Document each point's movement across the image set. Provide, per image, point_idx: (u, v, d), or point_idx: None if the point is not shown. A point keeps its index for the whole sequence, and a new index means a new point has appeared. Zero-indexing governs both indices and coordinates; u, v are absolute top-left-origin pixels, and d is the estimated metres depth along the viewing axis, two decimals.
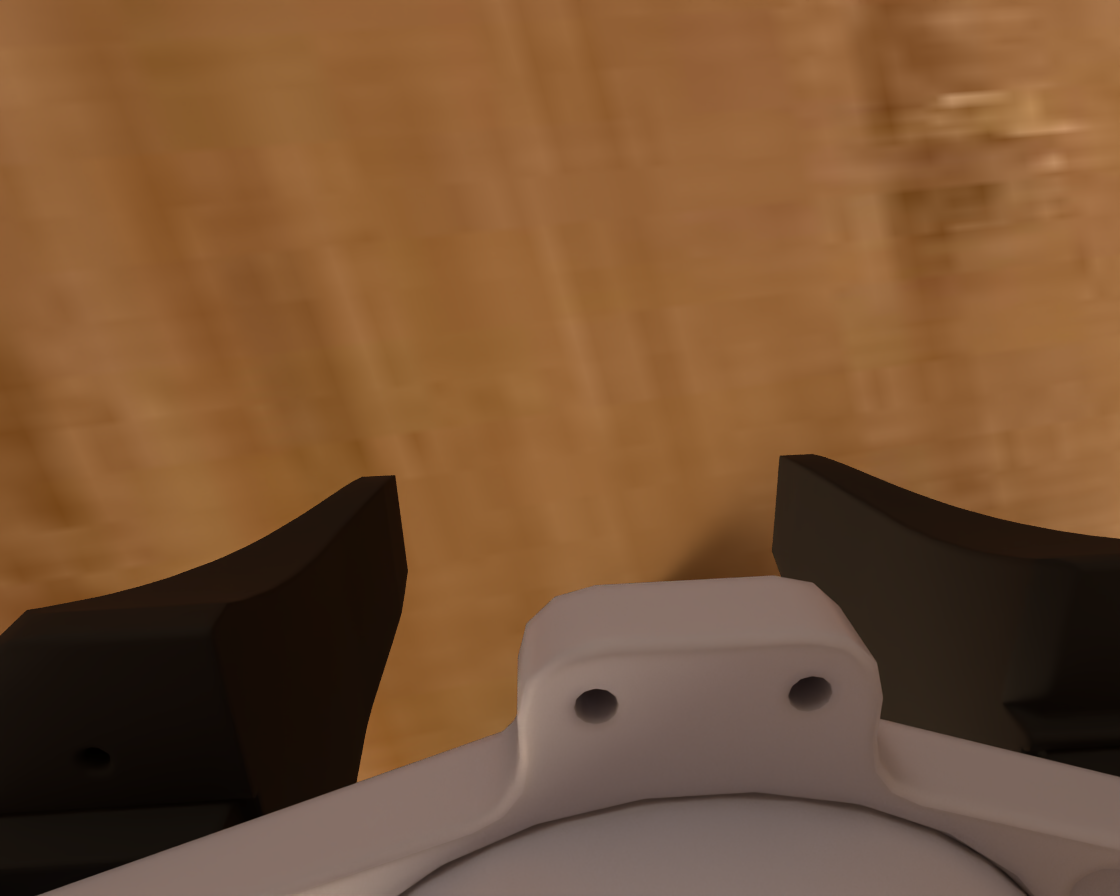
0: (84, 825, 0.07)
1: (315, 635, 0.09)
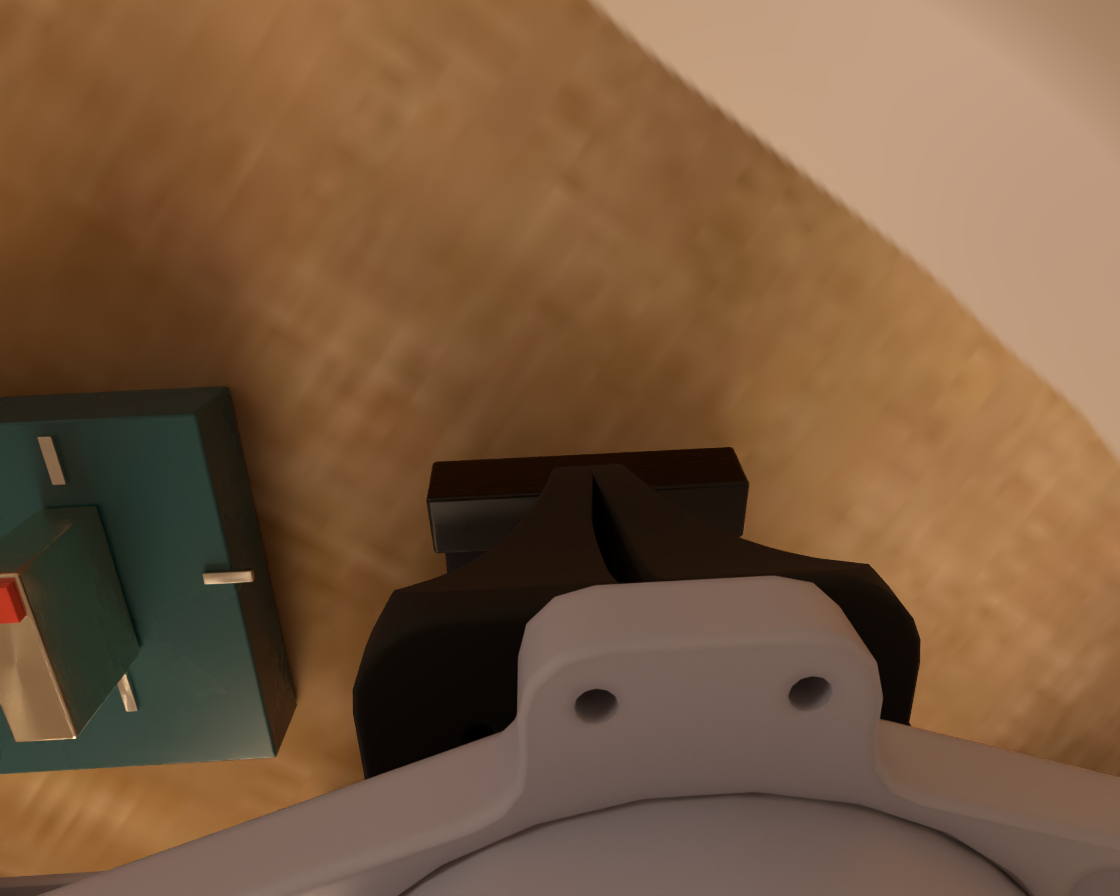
0: None
1: None
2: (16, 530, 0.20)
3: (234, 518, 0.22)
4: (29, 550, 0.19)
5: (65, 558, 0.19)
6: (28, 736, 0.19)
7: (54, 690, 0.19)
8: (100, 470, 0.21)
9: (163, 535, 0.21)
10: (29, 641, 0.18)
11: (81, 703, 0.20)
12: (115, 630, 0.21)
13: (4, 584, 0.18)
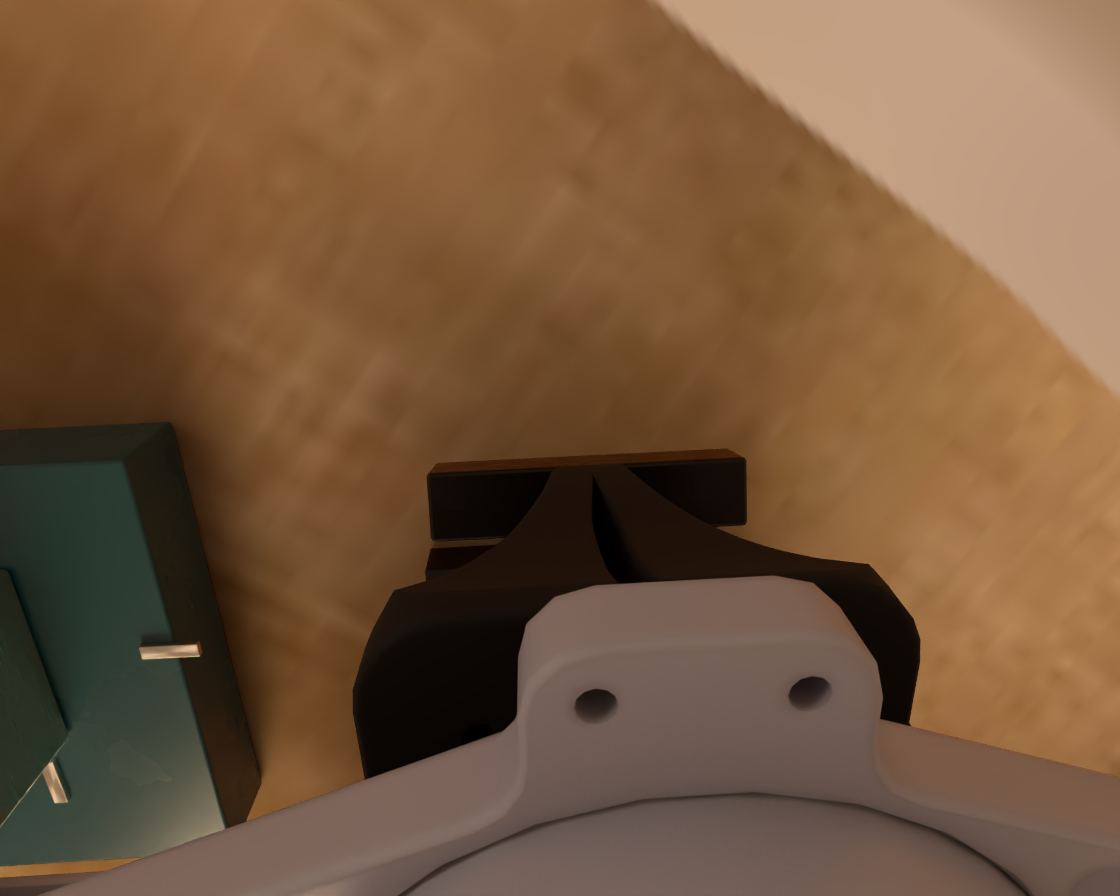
0: None
1: None
2: None
3: (178, 579, 0.19)
4: None
5: None
6: None
7: None
8: (11, 528, 0.17)
9: (90, 602, 0.18)
10: None
11: None
12: (33, 716, 0.18)
13: None
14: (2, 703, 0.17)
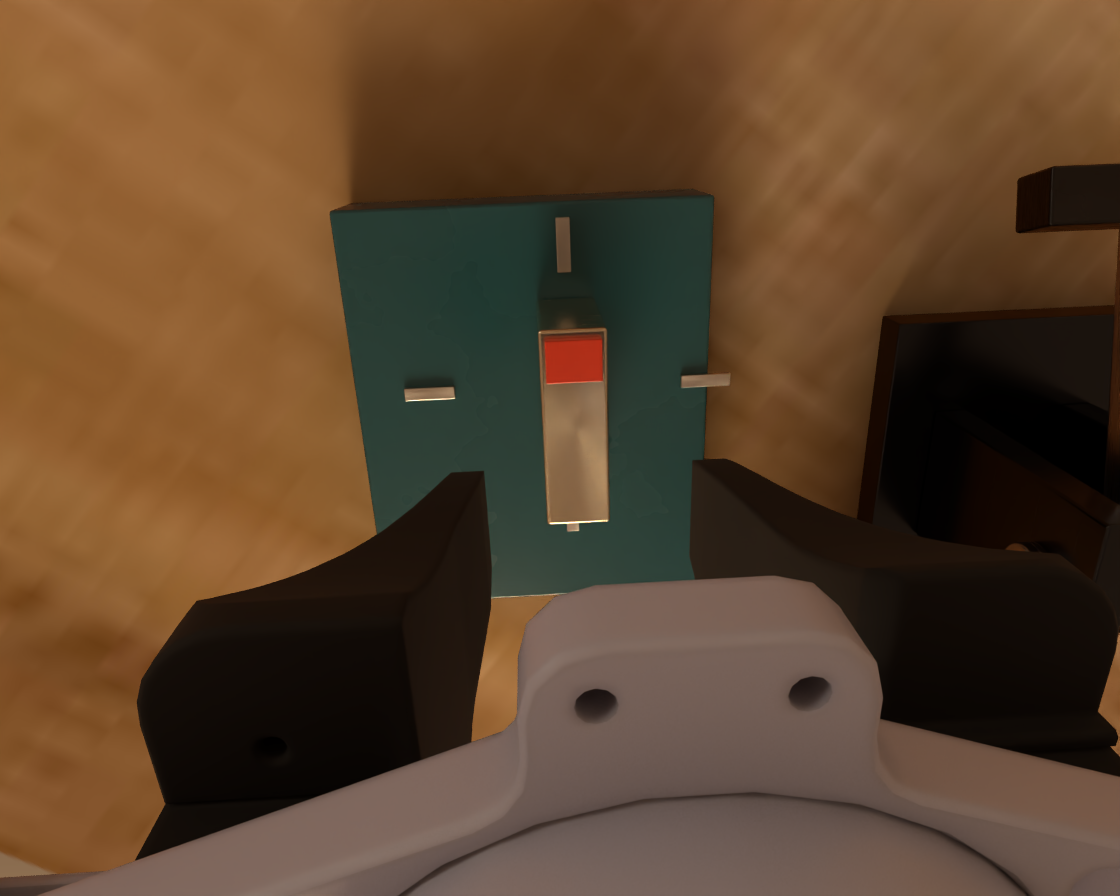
0: (260, 813, 0.07)
1: (447, 628, 0.09)
2: (543, 309, 0.19)
3: None
4: (587, 317, 0.18)
5: None
6: (564, 517, 0.19)
7: (605, 464, 0.18)
8: (605, 258, 0.20)
9: (649, 333, 0.21)
10: (596, 407, 0.18)
11: None
12: None
13: (592, 339, 0.17)
14: None
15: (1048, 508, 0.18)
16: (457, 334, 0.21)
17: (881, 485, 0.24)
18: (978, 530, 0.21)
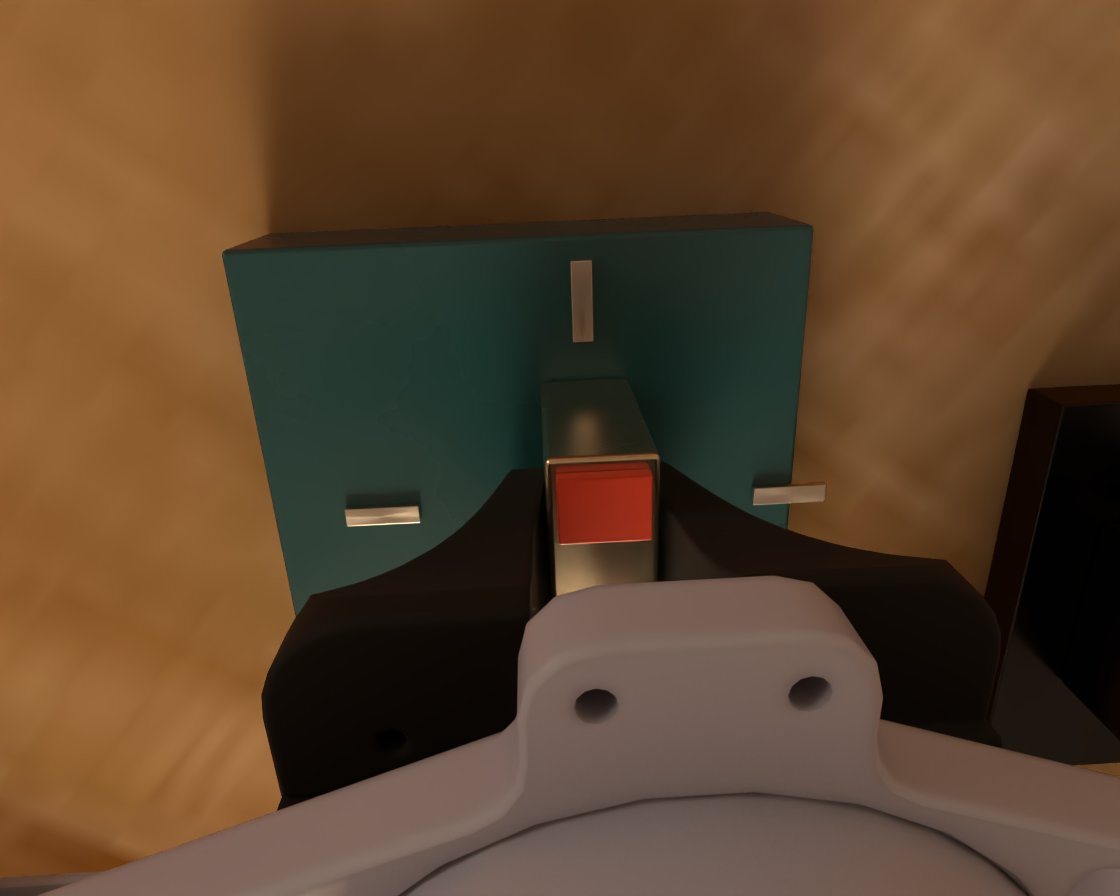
0: None
1: None
2: (553, 404, 0.12)
3: None
4: (623, 426, 0.11)
5: None
6: None
7: None
8: (645, 320, 0.13)
9: (708, 428, 0.14)
10: (640, 574, 0.11)
11: None
12: None
13: (635, 472, 0.10)
14: None
15: None
16: (422, 432, 0.14)
17: (1018, 619, 0.18)
18: None
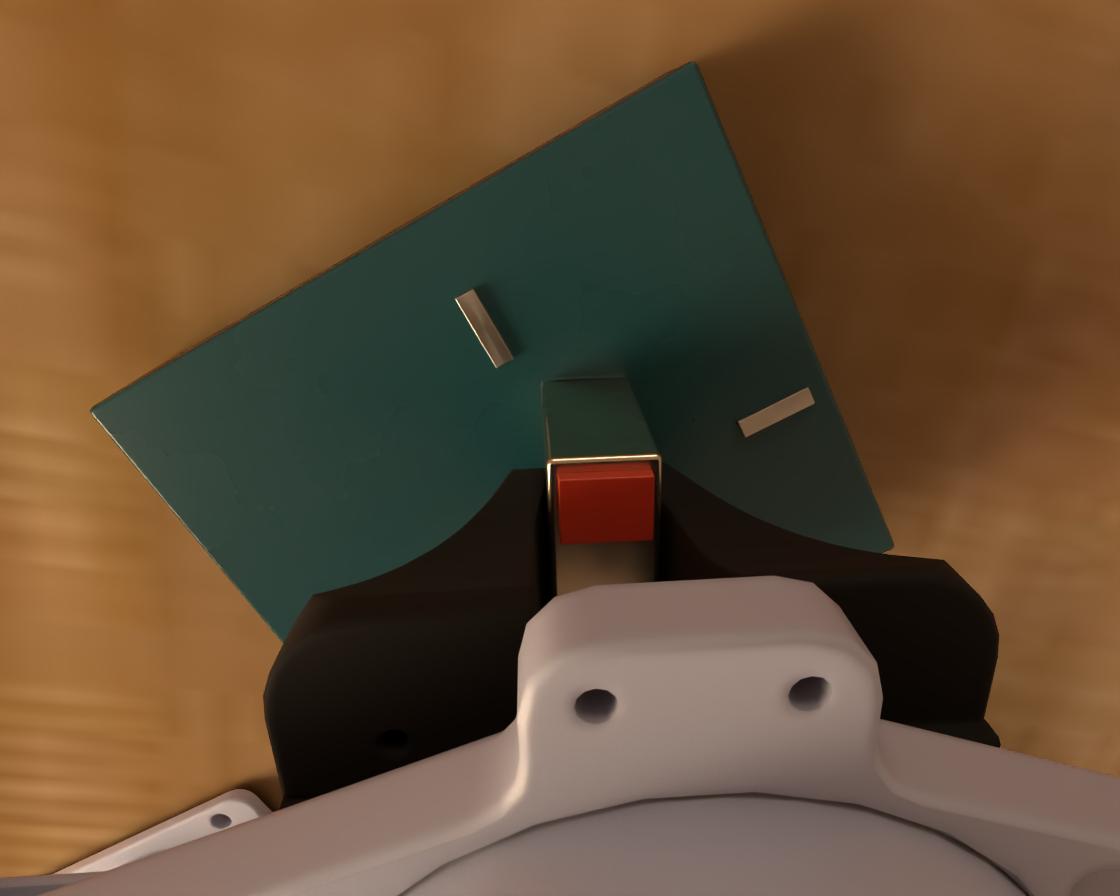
0: None
1: None
2: (554, 403, 0.12)
3: None
4: (625, 426, 0.11)
5: None
6: None
7: None
8: (775, 467, 0.14)
9: None
10: (640, 575, 0.11)
11: None
12: None
13: (637, 473, 0.10)
14: None
15: None
16: (591, 329, 0.13)
17: None
18: None
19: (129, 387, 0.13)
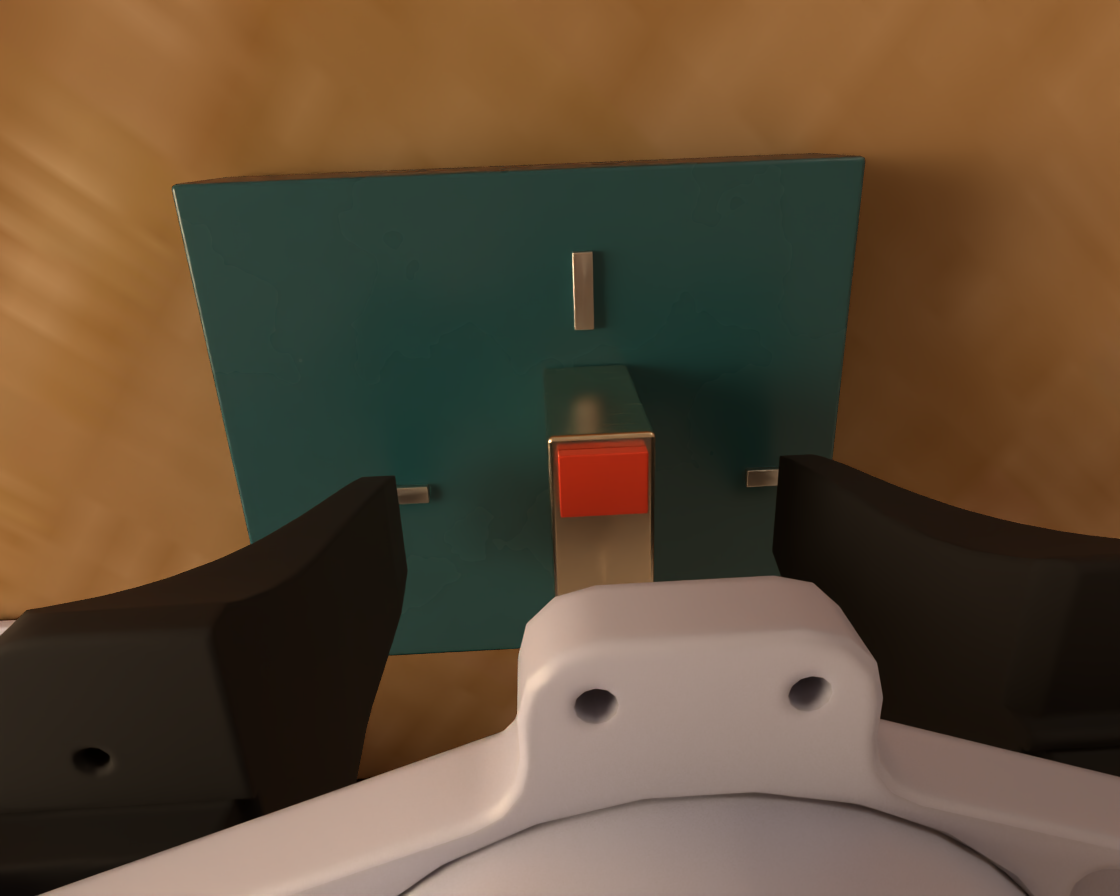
0: (84, 825, 0.07)
1: (315, 635, 0.09)
2: (554, 388, 0.13)
3: None
4: (621, 407, 0.12)
5: None
6: None
7: None
8: (755, 523, 0.16)
9: (655, 578, 0.16)
10: (637, 547, 0.12)
11: None
12: None
13: (632, 449, 0.11)
14: None
15: None
16: (669, 335, 0.14)
17: None
18: None
19: (225, 183, 0.13)
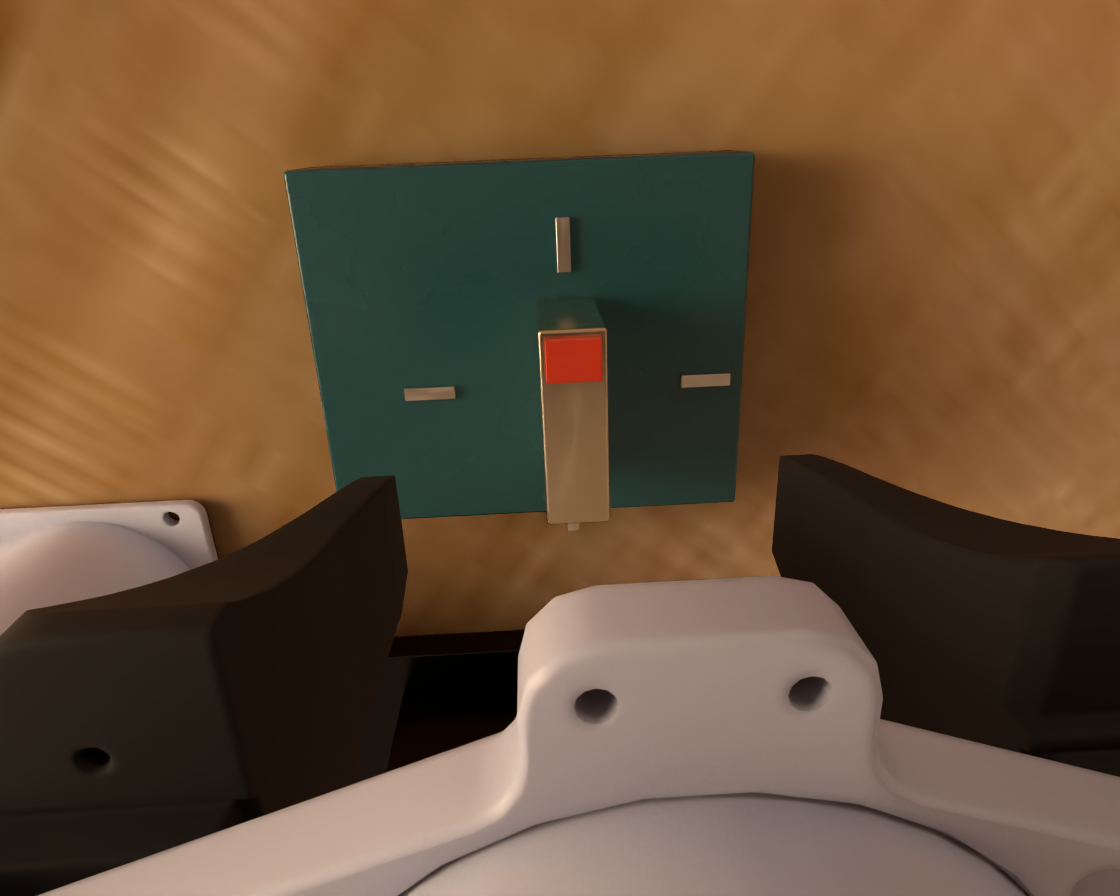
0: (83, 824, 0.07)
1: (315, 635, 0.09)
2: (543, 309, 0.19)
3: None
4: (587, 317, 0.18)
5: None
6: (564, 517, 0.19)
7: (605, 464, 0.18)
8: (689, 416, 0.22)
9: (618, 458, 0.22)
10: (596, 407, 0.18)
11: None
12: None
13: (592, 339, 0.17)
14: None
15: None
16: (624, 277, 0.20)
17: (452, 656, 0.26)
18: None
19: (320, 170, 0.19)
